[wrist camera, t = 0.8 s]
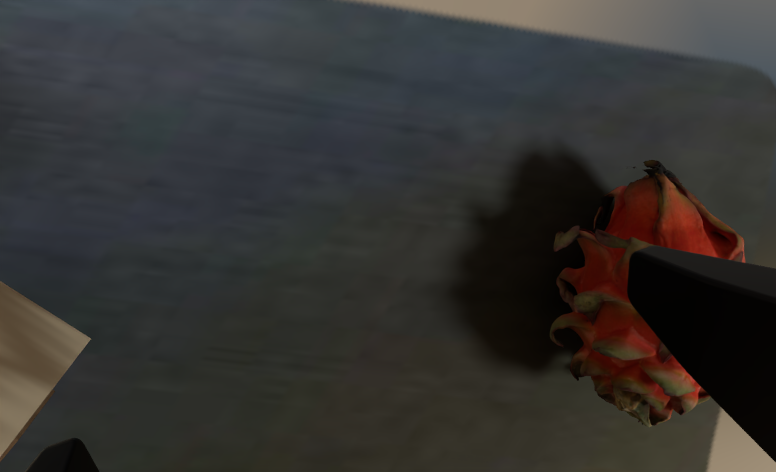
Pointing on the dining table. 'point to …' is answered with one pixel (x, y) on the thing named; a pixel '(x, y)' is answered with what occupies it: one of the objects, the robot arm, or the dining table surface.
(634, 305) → the robot arm
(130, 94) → the dining table surface
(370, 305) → the dining table surface
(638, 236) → the dragon fruit
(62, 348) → the birch block
